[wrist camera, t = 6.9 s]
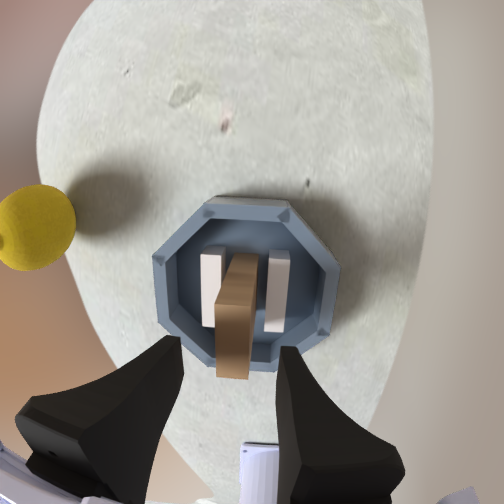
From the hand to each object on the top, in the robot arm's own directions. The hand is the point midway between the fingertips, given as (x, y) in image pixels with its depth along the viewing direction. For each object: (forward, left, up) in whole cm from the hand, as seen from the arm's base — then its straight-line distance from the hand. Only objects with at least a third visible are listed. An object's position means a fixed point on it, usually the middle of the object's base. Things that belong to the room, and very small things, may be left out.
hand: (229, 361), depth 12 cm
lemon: (+4, +14, -9) cm, 17 cm away
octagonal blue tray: (0, 0, -9) cm, 9 cm away
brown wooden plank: (0, 0, -8) cm, 8 cm away
